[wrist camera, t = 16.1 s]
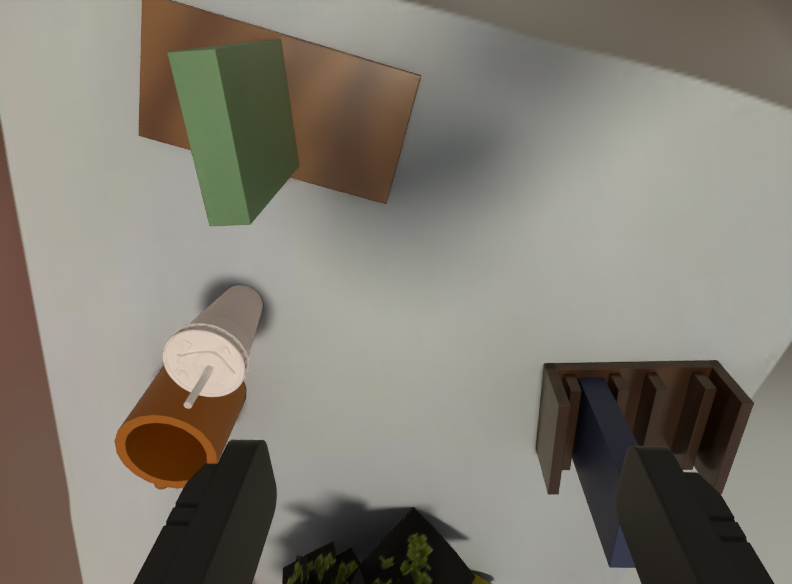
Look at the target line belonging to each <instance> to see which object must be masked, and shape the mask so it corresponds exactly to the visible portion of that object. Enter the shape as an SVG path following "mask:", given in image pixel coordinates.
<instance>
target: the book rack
mask: <svg viewBox="0 0 792 584" xmlns="http://www.w3.org/2000/svg"><path fill="white" fill-rule="evenodd" d="M579 378H605V380H606V382H607V384H608V386H609V388H610V390H611V392H612V394H613V396H614V398H615V400H616V402H617V404H618V406H619V408H620V410H621V412H622V414H623V416H624V418H625V420H626V422H627V424H628V426H629V428H630V430H631V432H632V434H633V436H634V438H635V440H636V442H637V444H638V446H666V447H668V448H669V449H670V450H671V451H672V452H673V454H674V456H675V458H676V459H677V461H678V463H679V465H680V467H681V469H682V470H692V469H693V466H694V467H695V468H696V470H697V471H698V473H699V475H700V476H701V477H703V478H704V479H705V480H706V481H707V482H708V483H709V484H710V485H711V486H712V487H714V488H715V489H716V490H717V491H718V492H719V493H720V494H722V492H723V489H724V487H725V484H726V481H727V478H728V475H729V472H730V469H731V467H732V464H733V461H734V458H735V455H736V453H737V450H738V447H739V444H740V441H741V438H742V436H743V433H744V430H745V427H746V424H747V421H748V418H749V416H750V413H751V410H752V407H753V405H754V402H753V401H752V400H751V399H750V398H749V397H748V395H747V394H746V393H745V392H744V391H743V390H742V388H741V387H740V386H739V385H738V384H737V383H736V381H735V380H734V379H733V378H732V377H731V376H730V375H729V373H728V372H727V371H726V370H725V369H724V368H723V366H722V365H721V364H720V363H719V362H718V361H676V362H619V363H562V364H554V363H553V364H544V372H543V382H542V392H541V402H540V412H539V422H538V432H537V442H536V450H537V454H538V458H539V462H540V466H541V469H542V473H543V477H544V481H545V485H546V488H547V492H548V494H559V487H560V480H561V472H562V470H570V466H571V459H572V453H573V446H574V439H575V432H576V425H577V419H578V412H579V405H580V398H581V388H580V386H579V384H578V379H579Z"/></svg>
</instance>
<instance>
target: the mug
mask: <svg viewBox="0 0 792 584" xmlns="http://www.w3.org/2000/svg"><path fill="white" fill-rule="evenodd" d="M190 393H191V392H189V391H187V390H185V389H184V388H182V387H181V386H179V385H178V384H177V383H176V382H175V381H174V380H173V379H172V378H171V377H170V376H169V374H168V373H167V371H166V369H165V366H163V367H162V369H161V370H160V372H159V373H158V375H157V376H156V377H155V379H154V380H153V382H152V383H151V384H150V386H149V387H148V389H147V390H146V392H145V393H144V394H143V396H142V397H141V399H140V400H139V401H138V403H137V404H136V406H135V407H134V409H133V410H132V411H131V413H130V414H129V416H128V417H127V418H126V420H125V421H124V423H123V424H122V426H121V427H120V428H119V430H118V432H117V435H116V439H115V446H116V451H117V454H118V456H119V457H120V459H121V461H122V462H123V464H124V465H125V466H126V467H127V468H128V469H129V470H131V471H132V472H133V473H134V474H135V475H137V476H139V477H141V478H142V479H144V480H146V481H148V482H151V483H154V485H155V487H156V488H157V489H165V488H167V487H172V488H184V486H185V484H186V483H187V481H188V480H189V479H190V478H191V477H192V476H193V475H194V474H195V473H196V472H197V471H198V470H199V469H200V468H201V467H202V466H203V465H204V464H205V463H213V464H217V463H218V461H219V459H220V457H221V454H222V452H223V450H224V447H225V445H226V443H227V440H228V438H229V436H230V434H231V431H232V429H233V427H234V424H235V422H236V420H237V418H238V415H239V413H240V411H241V408H242V406H243V404H244V401H245V399H246V387H245V385H244V382H242V383H241V385H240V386H239V387H238V388H237V389H236V390H235V391H233V392H232V393H230V394H227V395H224V396H220V397H205V396H200V395H198V397H197V399H196V400H195V402H194V404H193V405H192V407H191V408H190V409H188V408H185V407H184V403H185V401H186V400H187V398H188V396H189V395H190Z"/></svg>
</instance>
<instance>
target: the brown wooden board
mask: <svg viewBox="0 0 792 584" xmlns="http://www.w3.org/2000/svg"><path fill="white" fill-rule="evenodd" d="M278 39H281V43H282V50H283V57H284V64H285V71H286V78H287V84H288V91H289V98H290V105H291V112H292V119H293V125H294V132H295V139H296V146H297V153H298V160H299V167H298V168H297V170H296V171H295V172H294V173H293V174H292V176H291V177H290V178H293V179H297V180H301V181H304V182H308V183H311V184H315V185H319V186H322V187H326V188H330V189H333V190H337V191H340V192H344V193H348V194H351V195H355V196H358V197H362V198H366V199H369V200H373V201H377V202H380V203H384V204H386V203H387V199H388V195H389V192H390V188H391V184H392V181H393V177H394V173H395V170H396V166H397V162H398V159H399V155H400V152H401V148H402V144H403V141H404V137H405V133H406V130H407V126H408V122H409V119H410V115H411V111H412V108H413V104H414V100H415V97H416V93H417V89H418V86H419V82H420V78H421V75H418V74H415V73H412V72H408V71H405V70H402V69H398V68H395V67H392V66H388V65H385V64H382V63H378V62H375V61H372V60H368V59H365V58H362V57H358V56H355V55H352V54H348V53H345V52H342V51H338V50H335V49H332V48H328V47H325V46H322V45H318V44H315V43H312V42H308V41H305V40H302V39H298V38H295V37H292V36H288V35H285V34H282V33H278V32H275V31H272V30H268V29H265V28H262V27H258V26H255V25H252V24H249V23H245V22H242V21H239V20H235V19H232V18H229V17H225V16H222V15H219V14H215V13H212V12H209V11H205V10H202V9H199V8H195V7H192V6H189V5H185V4H182V3H179V2H175V1H172V0H142V26H141V64H140V103H139V136H141V137H145V138H149V139H152V140H156V141H160V142H163V143H167V144H170V145H174V146H178V147H181V148H185V149H188V150H191V147H190V143H189V139H188V135H187V131H186V127H185V123H184V119H183V115H182V110H181V106H180V102H179V98H178V94H177V90H176V86H175V82H174V78H173V73H172V69H171V65H170V61H169V57H168V52H169V51H177V50H185V49H193V48H200V47H208V46H216V45H224V44H232V43H239V42H247V41H262V40H278Z"/></svg>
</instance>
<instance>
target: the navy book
mask: <svg viewBox="0 0 792 584" xmlns="http://www.w3.org/2000/svg"><path fill="white" fill-rule="evenodd" d="M578 384H579V386H580V388H581V398H580V405H579V412H578V419H577V425H576V432H575V439H574V446H573V453H572V459H573V462H574V465H575V468H576V471H577V474H578V477H579V480H580V482H581V485H582V488H583V491H584V494H585V497H586V500H587V503H588V506H589V509H590V512H591V515H592V518H593V521H594V524H595V526H596V529H597V532H598V535H599V538H600V541H601V544H602V547H603V550H604V553H605V556H606V559H607V562H608V565H609V567H619V568H632V567H633V568H636V567H635V565H634V562H633V559H632V556H631V554H630V551H629V548H628V546H627V543H626V540H625V537H624V535H623V532H622V529H621V527H620V524H619V520H618V516H617V510H616V493H617V488H618V484H619V480H620V475H621V471H622V467H623V462H624V458H625V454H626V450H627V448H628V447H629V446H638V444H637V442H636V440H635V438H634V436H633V434H632V432H631V430H630V428H629V426H628V424H627V422H626V420H625V418H624V416H623V414H622V412H621V410H620V408H619V406H618V404H617V402H616V400H615V398H614V396H613V394H612V392H611V390H610V388H609V386H608V384H607V382H606V380H605V378H579V379H578Z"/></svg>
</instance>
